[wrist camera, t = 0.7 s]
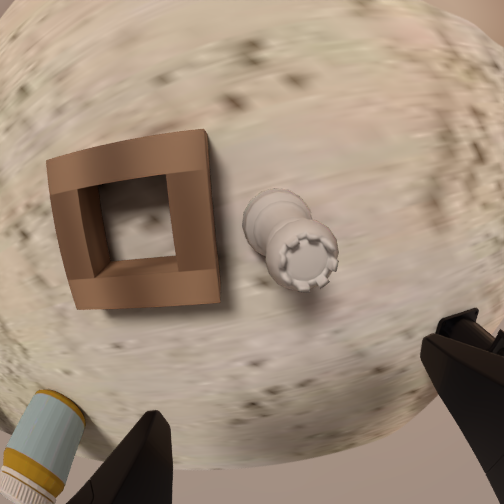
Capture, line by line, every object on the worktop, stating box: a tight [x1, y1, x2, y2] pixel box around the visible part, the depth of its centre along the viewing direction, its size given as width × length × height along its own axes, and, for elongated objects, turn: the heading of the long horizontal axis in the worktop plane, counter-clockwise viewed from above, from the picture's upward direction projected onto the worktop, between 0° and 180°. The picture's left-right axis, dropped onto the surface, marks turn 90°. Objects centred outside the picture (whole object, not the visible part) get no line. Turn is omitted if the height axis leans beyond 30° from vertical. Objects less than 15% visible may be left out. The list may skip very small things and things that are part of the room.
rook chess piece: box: [242, 188, 339, 292], centre depth 15 cm, size 4×4×8 cm
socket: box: [46, 129, 221, 310], centre depth 16 cm, size 10×10×3 cm
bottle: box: [0, 390, 86, 504], centre depth 16 cm, size 7×7×15 cm
